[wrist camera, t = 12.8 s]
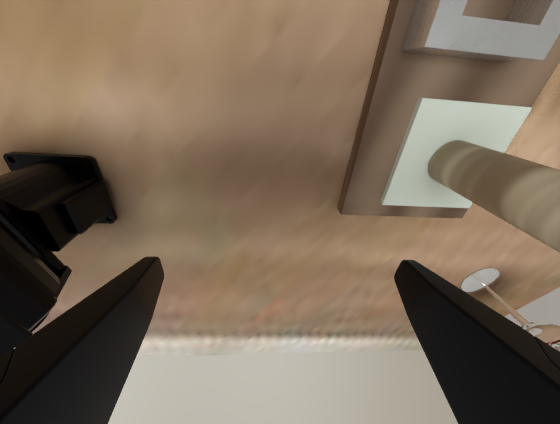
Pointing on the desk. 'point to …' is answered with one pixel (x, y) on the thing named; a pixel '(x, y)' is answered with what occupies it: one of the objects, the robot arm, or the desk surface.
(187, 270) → the desk surface
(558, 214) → the peg
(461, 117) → the coaster
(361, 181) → the board
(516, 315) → the wineglass
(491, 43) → the collar
